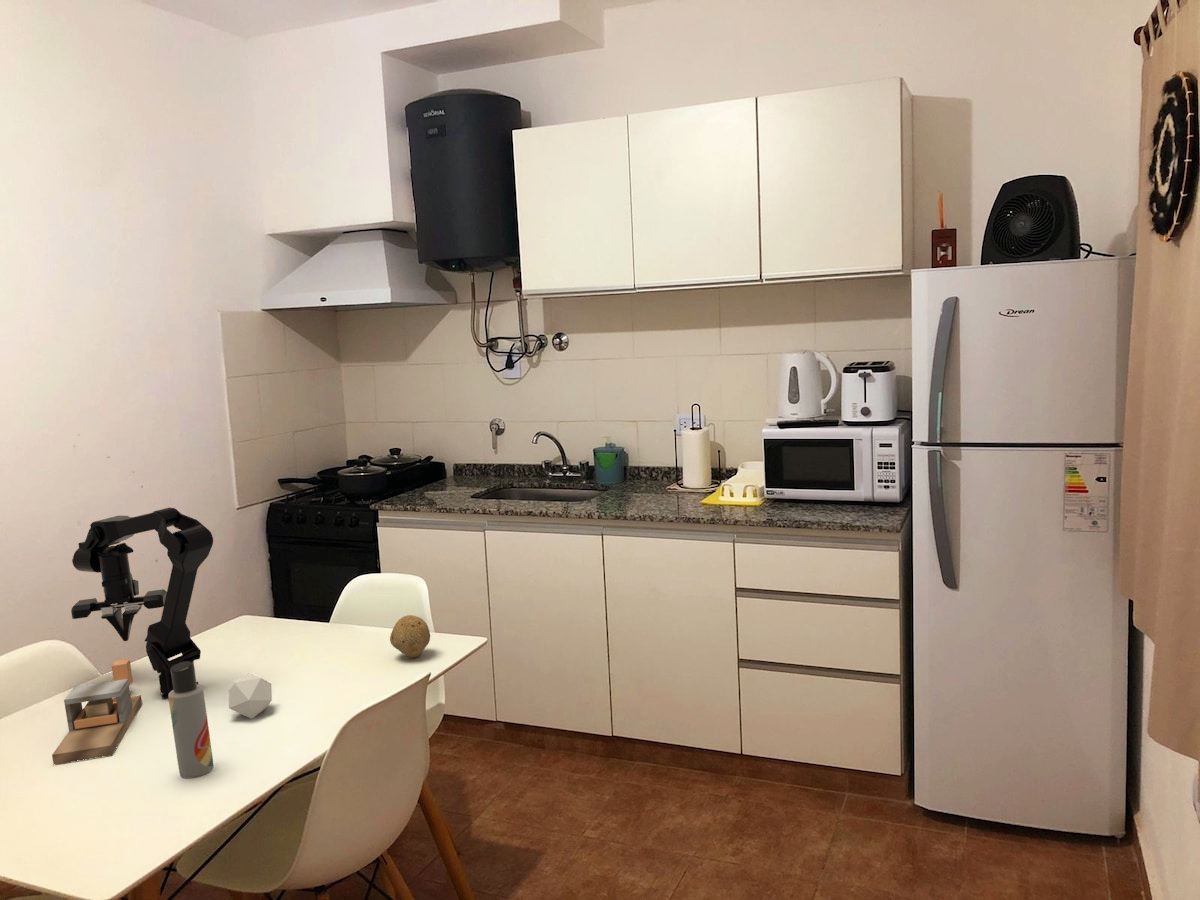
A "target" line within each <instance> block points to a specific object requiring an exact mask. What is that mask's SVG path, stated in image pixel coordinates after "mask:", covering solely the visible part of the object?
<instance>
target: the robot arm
mask: <svg viewBox="0 0 1200 900" xmlns="http://www.w3.org/2000/svg"><path fill="white" fill-rule="evenodd" d="M89 526H90V527H89V529H88V532H87V535H86V537H85V541H82V542H78V543H77V544H78V549H76V550H75V551H74V554H73V556H72V558H71V559H72V560H71V563H72V565H73V567H74V568H75V569H76V570H78V571H79V572H85V573H86V572H87V573H100V575H101V581H102V582H101V587H102V588H103V593H104V601H98V599H97V598H95V597H93V598H86V599H80V600H78V601H77V602H76V603H75V604H74V605H73V606H72V607H71V609H70V610H71V618H72V620H77V619H85V618H88V617H89V616H90V615H91V614H92V612H101V613H102V614H101V616H100V617H101V619H102V620H104V619H106V621H107V622H108V623H109V624H110V625H111V626H112V627H113V629H115V631H116V632H117V634H118V635H119V636H120V638H121V639H122V641H123V642H128V641H129V640H130V639H129V638H130V635H131V630H132V625H133V621H134V618H135V615H137V614H138V613H139V612H140V611H141V609H142V608H143V607H145V608H146V609H148V610H150V609H151V610H152V609H158V608H162V613H161V617H160V620H159V621H157V622H154V623H151V624H150V625H148V627H147V631H146V634H147V635H146V637H145V638H144V642H146V643H145V651H146V655H147V657H148V659H149V662H150V664H151V665H150V666H151V668H152V670H153V671H154V672H156V673H157V674H159V675H158V683H159V688H160V694H162V695H161V697H162V698H161V699H163V700H165V699H169V697H168V695H169V693H170V692H171V691H172V690H173V684H172V677H171V667H172V666H173V665H176V664H178V663H180V662H184V661H190V662H191V663H192V664H194V665H195V661H197V660H200V659H201V653H202V651H201V649H200V648H199V646H197V644H196V643H195V642H194V641H193V639H192V638H191V630H190V629H189V627H188V625H187V623H186V621H187V617H188V613H189V610H190V609H189V608H190V604H191V600H192V595H193V590H194V587H195V582H196V578H197V573H198V569H199V567H200V566H201V565H202V564H203V563H204V561H205V560H206V559H207V558H208V557H209V555H210V553H211V551H212V550H211V549H212V547H213V544H214V537H213V534H212V532H211V531H210V529H208V528H207V527H206V525H205V526H204V524H202V523H201V522H200V521H199V520H198V519H195V518H193V517H191V516H189V515H186V514H183V513H181V512H180V511H179V510H178V509H176V508H175V507H169V506H168V507H166V508H162V509H158V510H154V511H152V512H150V513H146V514H142V515H137V516H129V515H115V516H111V517H107V518H104V519H100V520H96V521H92V522H91V523H90V525H89ZM169 527H174V528H175V529H178V531H175V532H173V533H172V532H171V531H170V530H169V529H168V528H169ZM153 530H154V531H156V532H157V535H158V540H159V543H160V544H161V545H162V546H163V547H164V548H166V549H167V553H166V554H167V557H168V558H169V561H170V562H171V564H172V567H171V572H170V576H169V581H168V585H167V589H166V590H165V589H163V588H162V589H156V590H148V591H147V592H146V593H145V595H143V596H139V595H140V589H139V581H138V580H137V579H134V578H133V575H132V572H131V567H130V562H129V561H130V560H129V554H133V553H134V549H133V548H132V547H131V546H129V545H128V544H127V543H126V542H123V541H126V540H128V539H130V538H133V537H134V535H135V534H140V533H141V534H142V533H145V532H149V531H153ZM121 542H122V543H121ZM123 608H124V612H123V613H122V610H123ZM180 654H181V655H180ZM178 655H180V656H178ZM176 656H177V657H176ZM174 657H175V658H174ZM171 658H172V659H171ZM169 659H170V660H169ZM194 669H195V667H194ZM195 676H196V674H195ZM196 677H197V676H196ZM196 683H197V685H199V681H196Z"/></svg>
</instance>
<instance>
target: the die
mask: <svg viewBox="0 0 1200 900" xmlns="http://www.w3.org/2000/svg"><path fill="white" fill-rule="evenodd" d="M272 692H273V691H272V683H271V682H269V681H268V680H265V679H264V678H261V677H260V676H257V675H254V674H253V673H250V672H248V673H246V674H245V675H243V676H242V677H240V678H239V679H238V680H237V679H236V681H235V682H233V684H232V686H231V687H230V688H229V691H228V709H230V710H232V711H234V712H236V713H238V714H241V715H243V716H244V717H247V718H249V719H251V720H253V719H254V718H255V717H257V715H259V714H260V713H262V712H263V711H265V710H266V709H267V708H268V706H269V705H270V704H271V702H272V700H273V698H272V697H273V694H272Z"/></svg>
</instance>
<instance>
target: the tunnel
mask: <svg viewBox="0 0 1200 900" xmlns="http://www.w3.org/2000/svg"><path fill="white" fill-rule="evenodd" d="M113 697H116V701H117V707H118V714H119V720H118V722H117V723H110V724H104V725H98V726H91V727H85V728H78V729H75V726H74V721H75V719H76V718H77V717H78V715H79V714H80V713H81V711H82V710H83V705H82V704H83V703H84V702H85V703H87V702H89V701H93V700H100V699H107V698H113ZM63 703H64V708H65V709H64V710H65V714H66V715H65V716H66V721H67V727H68V732H67V734H65V736H64V737H63V739H62V740H61V742H60V743H59V745H58V746H57V747H56V749H55V750H54V751H53V753H52V754H51V756H52V757H51V758H52V763H53V765H54V764H57V765H61V763H63V764H68V763H67V762H69V763H72V762H71V761H75V762H78V761H77V760H81V761H86V760H85V759H87V760H90V759H89V758H94V759H96V758H95V757H100V758H103V757H102V756H106V757H110V756H109V755H112V754H113V755H114V753H115V752H116V750H117V748H118V746H119V745H118V744H120V743H121V742H122V740H123V737H124V736H125V734H126V733H127V731H128V729H129V727H130V726H131V723H132V722H133V720H134V719H135V717H136V716H137V713H138V712H139V711H140V709H141V707H142V706H143V700H142V695H141V694H140V695H138V694H137V695H134V696H132V695H131V690H130V686H129V681H128V679H124V680H117V681H114V680H112V681H111V680H110V681H103V682H96V683H91V684H90V683H89V684H83V685H77V686H73V688H72V689H71V691H70V692H69V693H68V694H67V696H65V698H64V699H63ZM121 739H122V740H121ZM116 747H117V748H116ZM115 749H116V750H115ZM114 751H115V752H114ZM113 755H112V756H113ZM83 759H84V760H83Z"/></svg>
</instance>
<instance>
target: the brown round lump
mask: <svg viewBox="0 0 1200 900" xmlns="http://www.w3.org/2000/svg"><path fill="white" fill-rule="evenodd" d="M389 641H390V644H391V646H393V648H395V649H396V650H397V651H399V652H401V653H402V654H404V656H406V657H408V658H411V659H415V658H418V657H419V656H420V655H421V654H422V653H423V651H424V650H425V649H426V647H427V646H428V645H429V643H430V641H431V633H430V628H429V626H428V624H427V622H426V621H425V620H424V619H423V618H421V617H419V616H418V615H417V616H416V615H414V614H413V615H412V614H411V615H410V614H407V615H403V616H402V617H400V618H399V619H398V620H397V622H396V623H395V624H394V626H393V629H392V630H391V633H390V636H389Z"/></svg>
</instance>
